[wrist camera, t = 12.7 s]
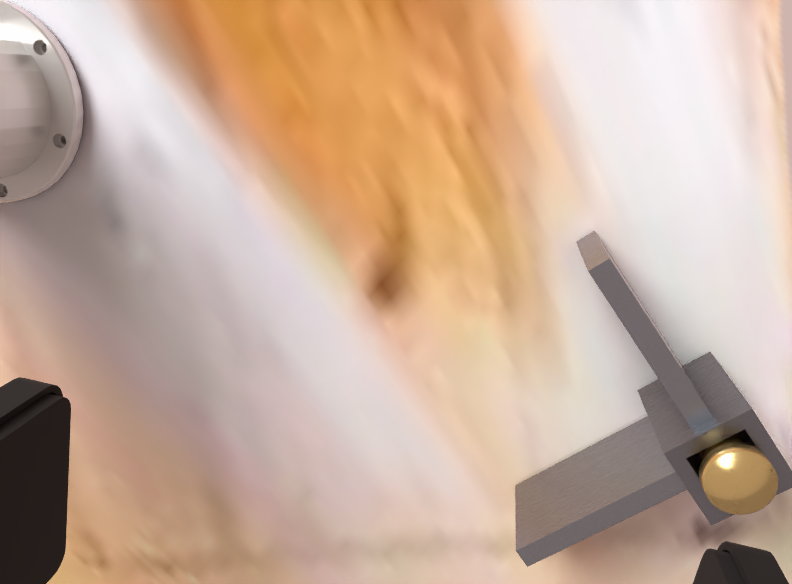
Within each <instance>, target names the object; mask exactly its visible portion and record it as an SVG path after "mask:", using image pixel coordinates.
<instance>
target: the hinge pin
mask: <svg viewBox="0 0 792 584" xmlns="http://www.w3.org/2000/svg"><path fill="white" fill-rule="evenodd" d="M699 454H700V456H701V458H702V460H703V461H702V463H701V465H700V469H699V479H700V483H701V485H702V487H703V489H704V492H705V494H706V496H707V498H708V499H709V501H710V502H711V503H712V504H713V505H714V506H715V507H717V508H718V509H720V510H722V511H724V512H727V513H730V514H739V515H740V514H749V513H753V512H756V511H758V510H760V509H762V508H764V507H765V506H766V505H767V504H769V503H770V502H771V500H772V499H773V498H774V496H775V494H776V492H777V489H778V476H777V473H776V471H775V469H774V467H773V466H772V464H771V463H770V461H769V460H768V458H767V457H766V456H765V454H764V453H763V452H762V451H760V450H759V449H757V448H756V447H754V446H752V445H749V444H745V443H742V441H741V440H740V438H739V437H738V435H737V433H736V434H734V435H732V436H730V437H728V438H726V439H724V440H722V441H720V442H718V443H716V444H714V445H712V446H710V447H708V448H706V449H704V450H702V451H700V452H699Z"/></svg>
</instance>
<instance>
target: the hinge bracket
mask: <svg viewBox="0 0 792 584" xmlns="http://www.w3.org/2000/svg"><path fill="white" fill-rule="evenodd" d="M577 244H578V247H579V249H580V252H581V254H582V257H583V259H584V262H585V264H586V267H587V269H588V271H589V273H590V274H591V276H592V278H593V279H594V281H595V282H596V284H597V285H598V287H599V288H600V290H601V291H602V293H603V294H604V296H605V297H606V299H607V300H608V302H609V303H610V305H611V306H612V308H613V310H614V311H615V313H616V314H617V316H618V317H619V319H620V320H621V322H622V323H623V325H624V326H625V328H626V329H627V331H628V332H629V334H630V335H631V337H632V338H633V340H634V342H635V343H636V345H637V346H638V348H639V349H640V351H641V352H642V354H643V355H644V357H645V358H646V360H647V361H648V363H649V364H650V366H651V367H652V369H653V370H654V372H655V374H656V375H657V377H658V378H659V379H658V380H657V381H655V382H653V383H651V384H649V385H647V386H645V387H644V388H642V389H640V390H638V392H639V395H640V397H641V400H642V402H643V404H644V407H645V409H646V412H647V414H648V416H647V417H645V418H644V419H642V420H640V421H638V422H636V423H634V424H632V425H630V426H628V427H626V428H624V429H623V430H621V431H619V432H617V433H615V434H613V435H611V436H609V437H607V438H605V439H603V440H602V441H600V442H598V443H596V444H594V445H592V446H590V447H588V448H586V449H584V450H582V451H581V452H579V453H577V454H575V455H573V456H571V457H569V458H567V459H565V460H563V461H561V462H560V463H558V464H556V465H554V466H552V467H550V468H548V469H546V470H544V471H542V472H540V473H539V474H537V475H535V476H533V477H531V478H529V479H527V480H525V481H523V482H521V483H519V484H518V485H516V486H515V497H516V551H517V553H518V554H519V556H520V557H521V558H522V560H523V561H524V562H525V564H526V565H527V567H528V566H530V565H532V564H534V563H536V562H538V561H540V560H542V559H544V558H546V557H548V556H551V555H553V554H555V553H557V552H559V551H561V550H563V549H565V548H567V547H569V546H571V545H573V544H575V543H577V542H579V541H581V540H584V539H586V538H588V537H590V536H592V535H594V534H596V533H598V532H600V531H602V530H604V529H606V528H608V527H610V526H612V525H615V524H617V523H619V522H621V521H623V520H625V519H627V518H629V517H631V516H633V515H635V514H637V513H639V512H641V511H643V510H645V509H648V508H650V507H652V506H654V505H656V504H658V503H660V502H662V501H664V500H666V499H668V498H670V497H672V496H674V495H676V494H678V493H681V492H683V491H685V490H687V489H688V491H689V492H690V494H691V495H692V497H693V498H694V500H695V501H696V503H697V504H698V506H699V507H700V509H701V510H702V512H703V513H704V515H705V516H706V518H707V519H708V521H709V522H710V524H711V525H713V524H715V523H717V522H719V521H721V520H723V519H726V518H728V517H730V516H732V515H734V514H730V513H727V512H724V511H722V510H720V509H718V508H717V507H715V506H714V505H713V504H712V503H711V502H710V501H709V499H708V498H707V496H706V494H705V492H704V489H703V487H702V485H701V483H700V479H699V469H700V465H701V463H702V461H703V460H702V458H701V456H700V454H699V452H700V451H702V450H704V449H706V448H708V447H710V446H712V445H714V444H716V443H718V442H720V441H722V440H724V439H726V438H728V437H730V436H732V435H734V434H736V433H737V435H738V437H739V438H740V440H741V441H742V443H745V444H749V445H752V446H754V447H756V448H757V449H759V450H760V451H762V452H763V453H764V454H765V456H766V457H767V458H768V460H769V461H770V463H771V464H772V466H773V467H774V469H775V471H776V473H777V476H778V489H777V492H776V494H775V495H777V494H779V493H782V492H784V491H786V490H788V489H790V488H792V471H791V469H790V467H789V466H788V464H787V463H786V461H785V460H784V458H783V456H782V455H781V453H780V452H779V450H778V449H777V447H776V445H775V444H774V442H773V441H772V439H771V438H770V436H769V434H768V433H767V431H766V430H765V428H764V427H763V425H762V424H761V422H760V420H759V419H758V417H757V416H756V414H755V413H754V411H753V409H752V408H751V407H750V405H749V404H748V403H747V401H746V400H745V398H744V397H743V396H742V394H741V393H740V392H739V390H738V389H737V388H736V386H735V385H734V384H733V382H732V381H731V379H730V378H729V377H728V375H727V374H726V373H725V371H724V370H723V369H722V367H721V366H720V365H719V363H718V362H717V360H716V359H715V358H714V356H713V355H712V354H711V352H709V353H707V354H705V355H703V356H701V357H699V358H698V359H696V360H694V361H692V362H690V363H688V364H686V365H685V366H683V367H682V365H681V364H680V362H679V360H678V359H677V357H676V356H675V354H674V353H673V351H672V350H671V348H670V347H669V345H668V344H667V342H666V340H665V339H664V337H663V336H662V334H661V333H660V331H659V330H658V328H657V327H656V325H655V323H654V322H653V320H652V319H651V317H650V316H649V314H648V313H647V311H646V310H645V308H644V307H643V305H642V303H641V302H640V300H639V299H638V297H637V296H636V294H635V293H634V291H633V290H632V288H631V286H630V285H629V283H628V282H627V280H626V279H625V277H624V276H623V274H622V273H621V271H620V270H619V268H618V266H617V265H616V263H615V262H614V260H613V259H612V257H611V256H610V254H609V253H608V251H607V249H606V248H605V246H604V245H603V243H602V242H601V240H600V239H599V237H598V236H597V234H596V232H595V231H593V232H592V233H590V234H589V235H587V236H585V237H584V238H582V239H580V240H579V241H577Z"/></svg>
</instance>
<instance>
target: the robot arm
mask: <svg viewBox="0 0 792 584" xmlns="http://www.w3.org/2000/svg"><path fill="white" fill-rule="evenodd" d="M46 46H47V50H46ZM83 113H84V112H83V103H82V94H81V90H80V86H79V83H78V79H77V76H76V72H75V70H74V68H73V66H72V64H71V62H70V60H69V57H68V55H67V53H66V52H65V50H64V49H63V47H62V46H61V44H60V43H59V42H58V40H57V39H56V37H55V36H54V35H53V34H52V33H51V32H50V31H49V29H48V28H47V27H46V26H45V25H44V24H43V23H42V22H41V21H40V20H38V19H37V18H36V17H34V16H33V15H32V14H30V13H29V12H28V11H26V10H25V9H23V8H21V7H19V6H17V5H15V4H13V3H11V2H9V1H7V0H0V203H5V202H12V201H19V200H22V199H26V198H30V197H33V196H35V195H37V194H39V193H41V192H43V191H45V190H47V189H49V188H50V187H51V186H52V185H53V184H55V183H56V182H57V181H58V180H59V179H60V178H61V177H62V176H63V174H64V173H65V172H66V171H67V169H68V168H69V167H70V165H71V163H72V161H73V159H74V157H75V155H76V153H77V150H78V147H79V143H80V139H81V135H82V129H83ZM65 139H66V141H65ZM70 419H71V404H70V402H69V400H68V399H67V398H65V397H63V394H62V392H61V389H60V388H59V387H58V386H56V385H52V384H48V383H43V382H39V381H35V380H30V379H26V378H20V377H19V378H16V379H14V380H12V381H10V382H9V383H7V384H5V385H4V386H2V387H0V584H46V583H47V582H48V581H49V580H50V579H51V578H52V577H53V575H54V574H55V573H56V572H57V570H58V568H59V567H60V565H61V562H62V560H63V557H64V554H65V548H66V524H67V498H68V471H69V445H70ZM693 584H789V583H788V581H787V579H786V578H785V576H784V574H783V572H782V570H781V569H780V567H779V565H778V563H777V561H776V559H775V558H774V556H773V555H772V554H771V553H770V552H768V551H765V550H761V549H757V548H753V547H748V546H744V545H740V544H735V543H731V542H727V541H726V542H724V543H722V544H721V545H720V546H719V548H718V550H714V549H707V550H706V551H705V553H704V555H703V557H702V559H701V562H700V565H699V568H698V571H697V573H696V576H695V579H694V582H693Z"/></svg>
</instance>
